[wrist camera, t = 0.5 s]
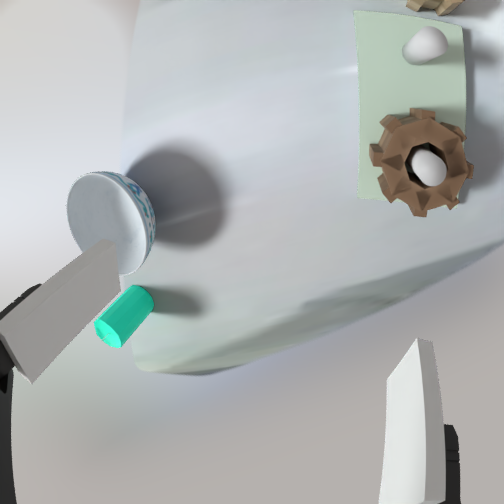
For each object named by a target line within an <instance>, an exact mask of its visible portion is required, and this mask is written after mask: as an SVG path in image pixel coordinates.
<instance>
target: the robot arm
mask: <svg viewBox="0 0 504 504" xmlns="http://www.w3.org/2000/svg"><path fill="white" fill-rule="evenodd" d="M120 291H121V289H120V281H119V272H118V263H117V253H116V243H114V242H112V241H109V240H106V239H104V238H103V239H101V240H100V241H99V242H97V243H96V244H95V245H93V246H92V247H90V248H89V249H88V250H86V251H85V252H84V253H82V254H81V255H80V256H78V257H77V258H76V259H74V260H73V261H72V262H70V263H69V264H68V265H66V266H65V267H64V268H63V269H62V270H60V271H59V272H58V273H56V274H55V275H54V276H52V277H51V278H50V279H49V280H47V281H46V282H45V283H44V284H37V285H35V286H33V287H31V288H29V289H28V290H26V291H25V292H24V293H23V294H22V295H21V296H20V297H18V298H17V299H16V300H14V303H11V304H10V305H9V306H7V307H6V308H5V309H4V310H3V311H2V312H0V504H17V503H16V496H15V488H14V479H13V469H12V451H11V404H12V388H13V376H14V375H13V370H12V368H13V367H14V366H16V368H17V370H18V371H19V373H20V374H21V375H22V376H23V377H24V378H25V379H26V380H28V381H29V382H30V383H31V384H33V382H34V381H35V380H36V379H37V378H38V377H39V376H40V375H41V373H42V372H43V371H44V370H45V369H46V368H47V367H48V366H49V365H50V363H51V362H52V361H53V360H54V359H55V358H56V357H57V356H58V355H59V354H60V353H61V352H62V350H63V349H64V348H65V347H66V346H67V345H68V344H69V343H70V342H71V341H72V340H73V339H74V338H75V337H76V336H77V335H78V334H79V333H80V332H81V330H82V329H83V328H84V327H85V326H86V325H87V324H88V323H89V322H90V321H91V320H92V319H93V318H94V317H95V316H96V315H97V314H98V313H99V312H100V311H101V310H102V309H103V308H104V307H105V306H106V305H107V304H108V303H109V302H110V301H111V300H112V299H113V298H114V297H115V296H116V295H117V294H118V293H119V292H120ZM458 451H459V444H458V436H457V434H456V431H455V429H454V427H453V425H446V424H444V423H443V411H442V402H441V393H440V386H439V379H438V372H437V365H436V359H435V354H434V349H433V343H432V342H431V341H427V340H423V339H419V338H416V340H415V342H414V343H413V344H412V346H411V347H410V349H409V350H408V352H407V353H406V355H405V356H404V357H403V359H402V360H401V361H400V363H399V364H398V366H397V367H396V368H395V370H394V371H393V372H392V374H391V375H390V376H389V378H388V379H387V412H386V436H385V450H384V461H383V472H382V481H381V489H380V496H379V504H461V501H460V463H459V460H460V459H459V453H458Z"/></svg>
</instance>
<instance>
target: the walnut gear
mask: <svg viewBox="0 0 504 504" xmlns="http://www.w3.org/2000/svg"><path fill="white" fill-rule="evenodd" d="M379 123H380V124H381V125H382V126H383V127H384V128H385V129H384V131H383V134H382V136H381V138H380V140H379V142H378V144H369V157H370V159H371V162H372V165H373V166H374V167H381V168H382V171H383V173H382V174H381V175H380V176H379V177H378V178H377V179H378V182H379V185H380V188H381V191H382V193H383V195H384V196H385V197H386V198H387V199H388V201H389V202H390V203H392V202H393V201H394V200H396V199H397V198H398V199H400V200H401V201H403V202H405V203H407V204H408V206H409V208H410V210H411V212H412V214H413V216H419V217H426V215H427V210H430V209H433V208H436V207H440V206H443V205H446V206H447V207H448V208H449V210H451V209H452V208H453V207H454V206H456V205H457V204H458V203H459V200H458V199H457V197H456V196H457V194H458V192H459V190H460V189H461V187H462V185H463V183H464V181H465V179H466V178H469V179H472V176H473V168H474V165H472V164H471V163H469V162H467V161H466V158H465V154H464V150H463V146H462V142H463V141H465V140H466V139H467V138H466V136H465V135H464V133H463V132H462V130H461V129H460V128H459V127H458V126H455V125H451V124H448V123H444V122H441V123H440V124H439V123H438V122H436V121H435V111H428V110H422V109H415V108H410V114H409V116H408V117H405V118H401V119H397V118H396V117H394V116H391V115H386V116H385V117H384V118H383V119H382V120H381V121H380V122H379ZM427 142H428V144H429V147H430V151H431V152H432V153H433V154H435V155H436V156H438V157H439V158H440V159H442V160H443V162H444V163H445V166H446V170H447V172H446V177H445V179H444V181H443V182H442V183H441V184H439V185H437V186H428V185H426V184H424V183H423V182H422V181H421V179H420V178H419V177H418V176H417V175H416V173H413V174H412V173H410V172H408V171H407V170H406V167H405V164H404V163H405V161H406V159H407V157H408V154H409V152H410V150H411V148H412V147H413V146H417V145H420V144H423V143H427Z"/></svg>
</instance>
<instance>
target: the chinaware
mask: <svg viewBox="0 0 504 504" xmlns="http://www.w3.org/2000/svg"><path fill="white" fill-rule="evenodd" d="M66 209H67V219H68V223H69V227H70V230H71V233H72V236H73V238H74V240H75V242H76V244H77V245H78V247H79V248H80V250H81V251H82V253H84V252H85V251H86V250H88V249H89V248H90V247H92V246H93V245H95V244H96V243H97V242H99V241H100V240H101V239H103V238H104V239H106V240H109V241H112V242H114V243H116V253H117V263H118V272H119V276H126V275H130V274H132V273H134V272H135V271H137V270H138V269H139V268H140V267H141V265H142V264H143V263H144V261H145V260H146V258H147V256H148V254H149V252H150V250H151V247H152V245H153V241H154V237H155V229H156V223H155V215H154V210H153V207H152V204H151V202H150V199H149V198H148V196H147V195H146V193H145V192H144V191H143V189H142V188H141V187H140V186H139V185H138V184H137V183H135V182H134V181H133V180H131V179H129V178H128V177H126V176H123V175H121V174H118V173H113V172H92V173H87V174H85V175H82V176H80V177H79V178H78V179H77V180H76V181H75V182H74V183H73V184H72V186H71V188H70V190H69V193H68V197H67V204H66Z"/></svg>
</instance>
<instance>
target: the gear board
mask: <svg viewBox="0 0 504 504" xmlns="http://www.w3.org/2000/svg"><path fill="white" fill-rule="evenodd" d="M354 23H355V34H356V47H357V63H358V85H359V166H358V189H357V197H358V198H363V199H375V200H385V201H388V199H387V198H386V197H385V196H384V195H383V193H382V191H381V188H380V185H379V182H378V179H377V178H378V177H379V176H380V175H381V174H382V173H383V171H382V168H381V167H374V166H373V165H372V162H371V159H370V157H369V144H378V142H379V140H380V138H381V136H382V134H383V131H384V129H385V128H384V127H383V126H382V125H381V124H380V123H379V122H380V121H381V120H382V119H383V118H384V117H385V116H386V115H391V116H394V117H396V118H397V119H401V118H405V117H408V116H409V114H410V108H415V109H422V110H428V111H435V121H436V122H438V123H439V124H440V123H441V122H444V123H448V124H451V125H455V126H458V127H459V128H460V129H461V130H462V132H463V133H464V135H465V127H466V71H465V55H464V44H463V34H462V26H458V25H454V24H450V23H445V22H441V21H436V20H431V19H425V18H420V17H414V16H407V15H400V14H392V13H383V12H372V11H357V10H354ZM464 144H465V141H463V142H462V146H463V150H464ZM404 164H405V167H406V170H407V171H408V172H410V173H412V174H413V173H416V175H417V176H418V177H419V178H420V179H421V181H422V182H423V183H424V184H426V185H428V186H437V185H439V184H441V183H442V182H443V181H444V179H445V177H446V172H447V170H446V166H445V163H444V162H443V160H442V159H440V158H439V157H438V156H436V155H435V154H433V153H432V152H431V151H430V147H429V144H428V142H427V143H423V144H420V145H417V146H413V147H412V148H411V150H410V152H409V154H408V157H407V159H406V161H405V163H404ZM459 191H460V190H459ZM456 197H457V199H458V197H459V192H458V194H457V196H456ZM394 201H396V202H403V201H401V200H400V199H398V198H397V199H396V200H394ZM440 207H447V206H446V205H443V206H440ZM453 208H455V209H457V205H456V206H454V207H453Z"/></svg>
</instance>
